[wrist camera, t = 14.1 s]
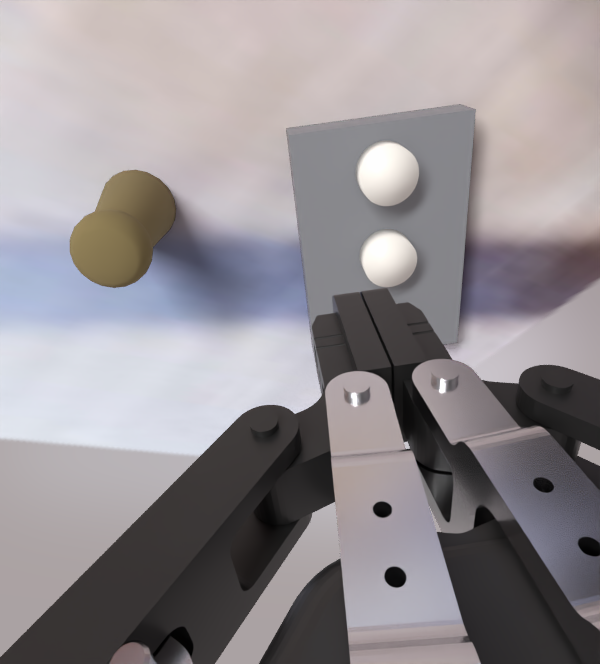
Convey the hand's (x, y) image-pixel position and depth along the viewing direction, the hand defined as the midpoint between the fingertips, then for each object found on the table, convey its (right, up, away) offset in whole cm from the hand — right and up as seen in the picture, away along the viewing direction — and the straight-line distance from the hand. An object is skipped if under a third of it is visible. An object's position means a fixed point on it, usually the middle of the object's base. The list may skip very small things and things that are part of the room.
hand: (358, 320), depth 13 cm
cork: (-15, +10, +27) cm, 32 cm away
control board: (+5, +8, +30) cm, 31 cm away
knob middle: (+5, +8, +30) cm, 31 cm away
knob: (+5, +14, +26) cm, 30 cm away
